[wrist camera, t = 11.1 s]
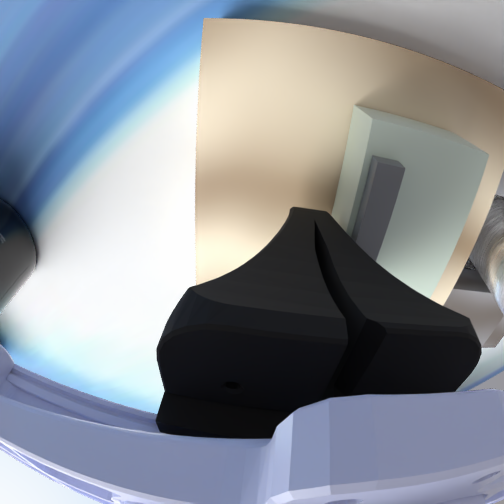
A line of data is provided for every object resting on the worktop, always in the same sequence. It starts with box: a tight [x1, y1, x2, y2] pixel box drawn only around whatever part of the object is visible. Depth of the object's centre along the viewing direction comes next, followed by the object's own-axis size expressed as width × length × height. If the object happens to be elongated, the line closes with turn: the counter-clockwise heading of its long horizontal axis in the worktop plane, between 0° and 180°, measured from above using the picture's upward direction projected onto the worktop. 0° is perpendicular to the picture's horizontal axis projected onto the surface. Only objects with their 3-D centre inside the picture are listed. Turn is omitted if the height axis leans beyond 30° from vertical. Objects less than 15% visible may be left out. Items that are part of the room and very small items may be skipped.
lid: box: [331, 105, 489, 299], centre depth 11 cm, size 9×4×3 cm, turn 175°
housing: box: [195, 18, 504, 348], centre depth 13 cm, size 14×19×2 cm
